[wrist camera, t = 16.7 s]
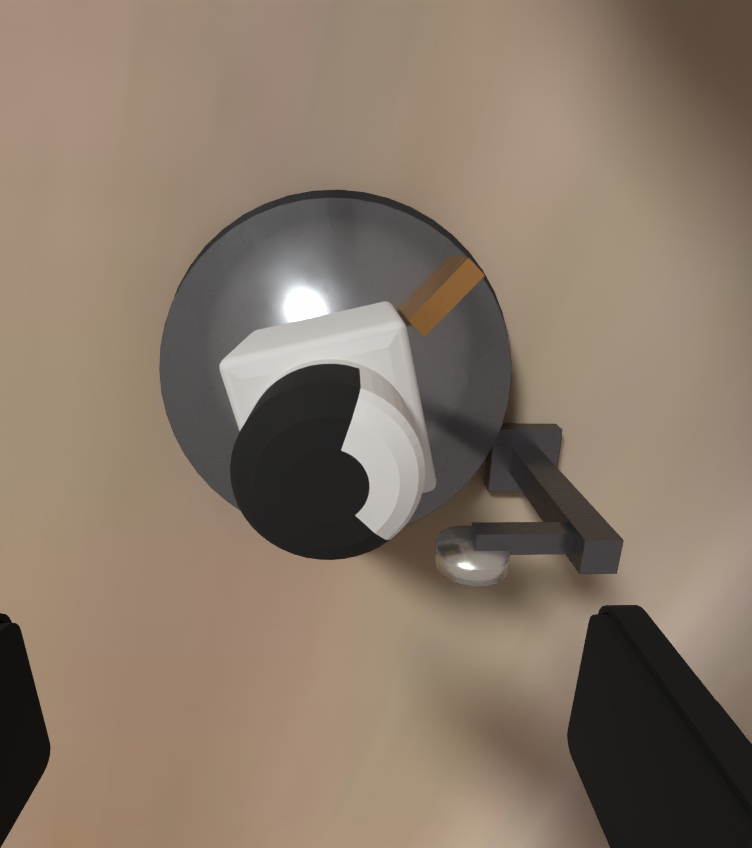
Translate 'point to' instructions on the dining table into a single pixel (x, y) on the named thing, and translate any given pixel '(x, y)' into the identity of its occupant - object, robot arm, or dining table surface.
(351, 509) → the medicine bottle
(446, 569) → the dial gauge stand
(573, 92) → the dining table surface
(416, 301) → the disc
